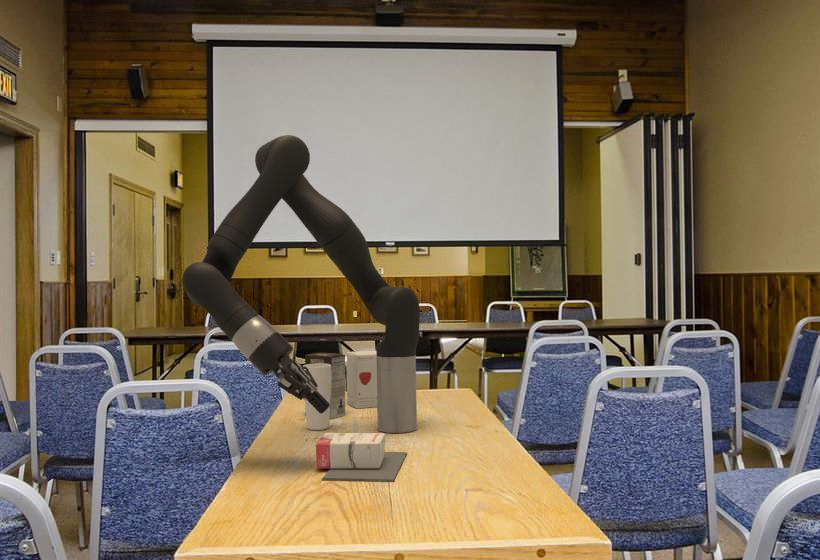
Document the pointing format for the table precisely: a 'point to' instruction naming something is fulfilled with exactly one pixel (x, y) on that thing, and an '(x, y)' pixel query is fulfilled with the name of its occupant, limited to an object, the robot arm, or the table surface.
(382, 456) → the ink box
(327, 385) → the drinking glass
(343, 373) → the coffee box
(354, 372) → the supplement box
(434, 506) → the table surface
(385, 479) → the charcoal mat
